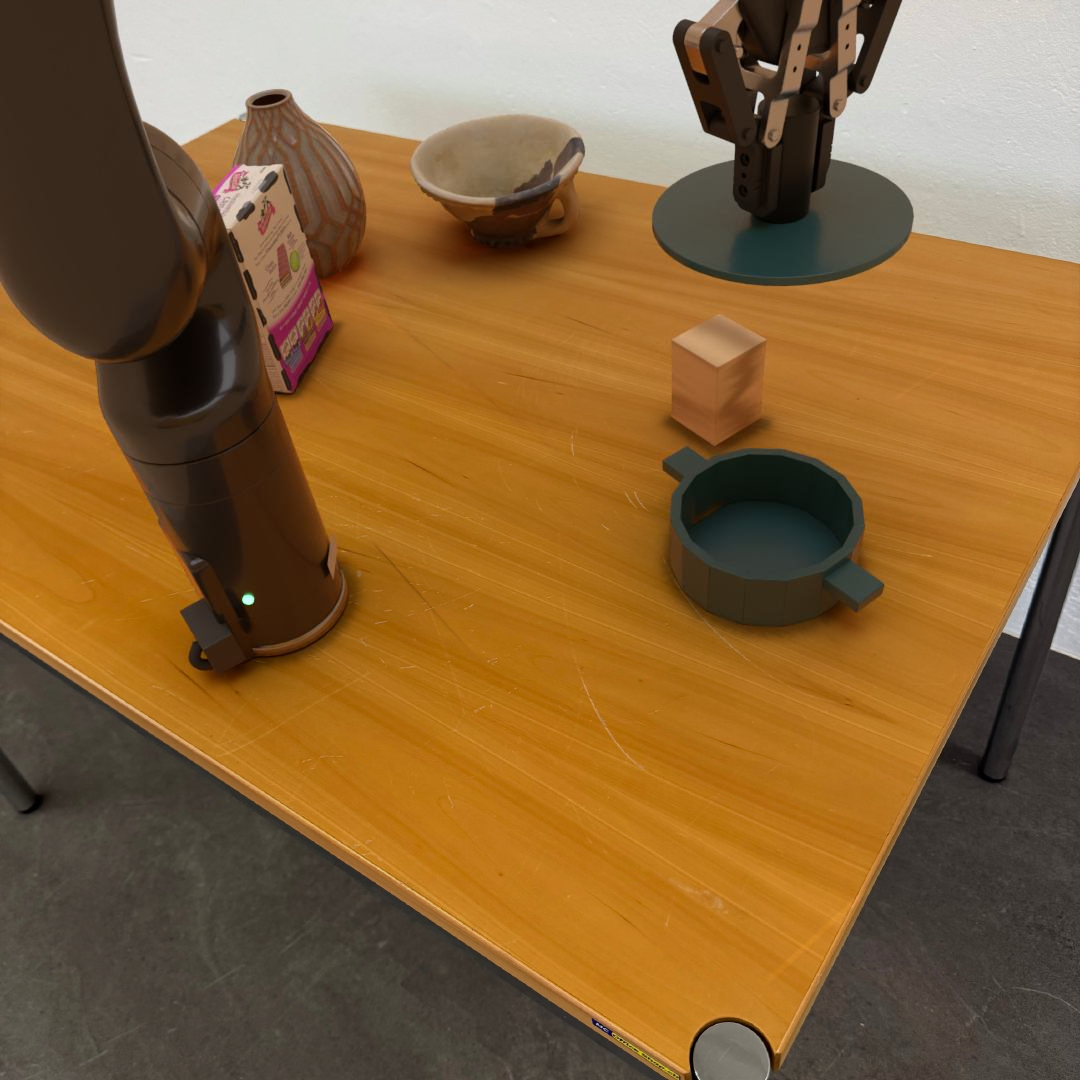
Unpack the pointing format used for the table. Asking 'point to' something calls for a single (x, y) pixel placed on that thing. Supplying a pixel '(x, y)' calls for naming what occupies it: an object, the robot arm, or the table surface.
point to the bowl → (503, 176)
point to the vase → (308, 175)
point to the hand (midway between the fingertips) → (780, 196)
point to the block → (717, 378)
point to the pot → (766, 536)
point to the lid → (785, 217)
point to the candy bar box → (275, 269)
